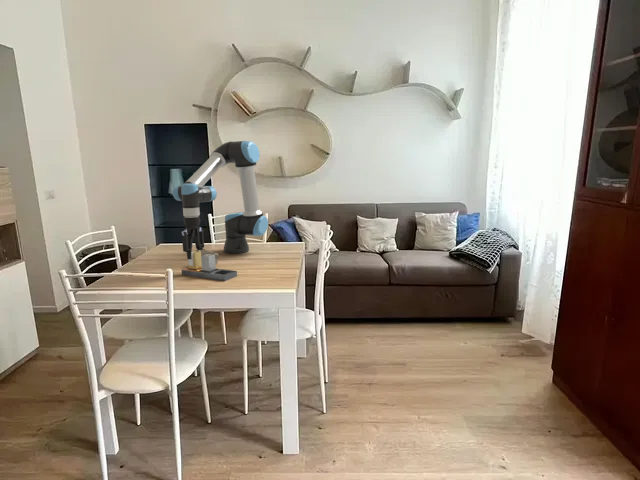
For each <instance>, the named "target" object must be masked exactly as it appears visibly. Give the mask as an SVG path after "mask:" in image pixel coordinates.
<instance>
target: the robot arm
mask: <svg viewBox="0 0 640 480" xmlns="http://www.w3.org/2000/svg"><path fill="white" fill-rule="evenodd" d="M258 161H260V149H259V147H258V145H257V144H256V143H255V142H254V141H250V140H249V141H248V140H238V141H228V142H224V143H223V144H221V145H220V146H218V147H216V148H215V150H213V151H212V152H211V153H210V155H209V158H208V159H207V160H206V161H205V162H204V163H203V164H202V165H201V166H200V167H199V168H198V169H197V170H196V171H195V172H194V173H193V174H192V175H191V176H190V177H189V178H188V179H187V180H186V181H185V182H184V183H183V184H181V185H176V186H175V187H174V188H173V189H172V196H173V199H175V200H176V201H179V202H182V213H183V214H182V215H183V224H184V226H185V227H184V230H183V231H180V235H181V240H182V241H181V243H182V251H183V252H184V253H186V259H187V265H189V266H194V260H193V252H192V251H193V240H194V244H195V250H196V251H201V250H203V249H205V240H204V239H205V237H204V231H205V228H204V227H201V226H200V224H201V217H200V215H201V212H200V211H201V210H200V204H201V203H208V202H210V203H211V202H213V201H215V200H216V198H217V197H218V196H217V193H218V192H217V190H216V188H215V187H214V186H211V185H205V184H207V182H208V181H209V180H210V179H211V178H212V177H213V176H214V175H215V174H216V173H217V171H219V169H220V168H224V167H225V166H226V165H228V164H234V165H235V168H236V169H237V170H238V174H239V181H240V186H241V187H240V188H241V193H242V200H243V208H244V211H243V212H242V211H241V212H234V213H228V214H225V217H224V227H225V229H224V230H225V242H224V245H223V253H226V254H243V253H248V252H249V251H250V246H249V243H248V240H247V238H246V237H247V236H254V237H258V236H259V237H260V236H264V235H265V234H266V232H267V230H268V228H269V220H268V219H269V218H267V216H266V215H264V212H263V211H262V210H261V209H260V202H259V196H258V195H259V193H258V188H257V187H258V186H257V180H256V172H255V167H257V162H258Z"/></svg>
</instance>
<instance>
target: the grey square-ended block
mask: <svg viewBox="0 0 640 480" xmlns="http://www.w3.org/2000/svg"><path fill="white" fill-rule="evenodd" d="M201 262H202V272H207V273H211V272H213V271H216V265H217V264H215V255H214V254H205V255H202V256H201Z"/></svg>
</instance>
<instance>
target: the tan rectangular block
mask: <svg viewBox="0 0 640 480" xmlns="http://www.w3.org/2000/svg"><path fill="white" fill-rule="evenodd" d="M196 250H197V249H194V250H193V249H192V252H193V260H194V266H189V265H188V264H187V265H188V267H187V268H188V270H195V271H197V270H200V269H202V262H201V251H196Z"/></svg>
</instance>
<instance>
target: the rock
mask: <svg viewBox="0 0 640 480" xmlns="http://www.w3.org/2000/svg"><path fill="white" fill-rule="evenodd" d="M205 254H214V255H215V264H216V265H217V264H218V263H219V257H220V255H219V253H216V252H213V251H212V250H206V249H205V248H203V250H201V256H202V255H205Z"/></svg>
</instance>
